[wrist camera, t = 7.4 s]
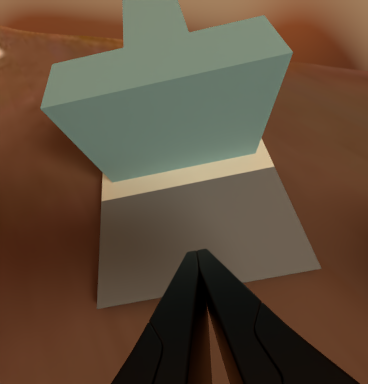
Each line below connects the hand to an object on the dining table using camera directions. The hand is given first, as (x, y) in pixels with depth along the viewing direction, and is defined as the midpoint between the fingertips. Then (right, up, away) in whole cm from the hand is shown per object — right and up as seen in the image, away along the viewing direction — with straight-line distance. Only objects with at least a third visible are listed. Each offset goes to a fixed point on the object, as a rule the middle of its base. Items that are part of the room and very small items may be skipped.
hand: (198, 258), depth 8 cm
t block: (-2, +10, +11) cm, 15 cm away
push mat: (-1, +6, +10) cm, 12 cm away
